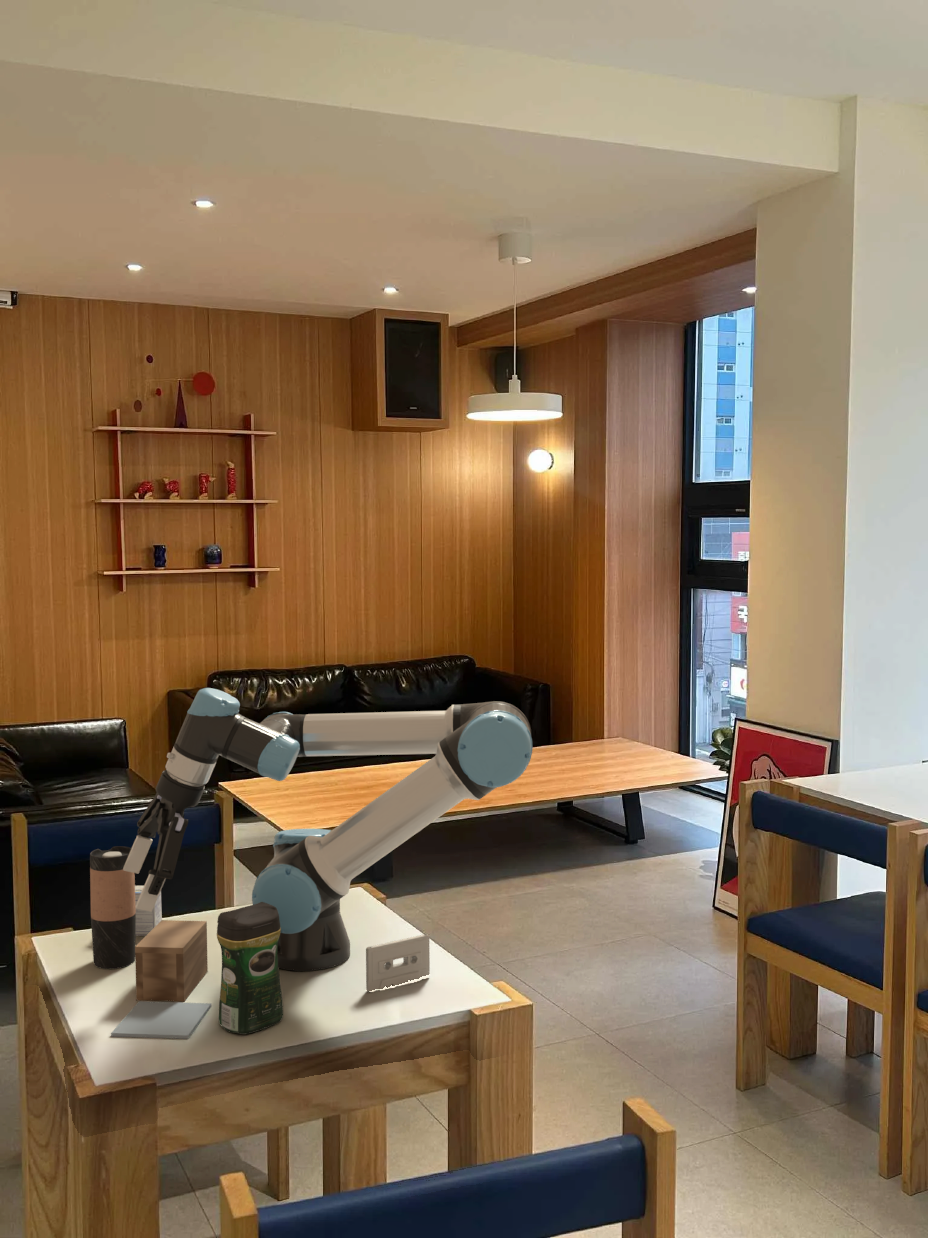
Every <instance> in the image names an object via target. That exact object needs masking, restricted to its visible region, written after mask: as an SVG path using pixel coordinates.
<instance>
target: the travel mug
mask: <svg viewBox="0 0 928 1238" xmlns="http://www.w3.org/2000/svg"><path fill="white" fill-rule="evenodd" d="M131 849H132V847H129V846H120V845H119V846H118V845H117V846H115V845H114V846H112V847H111V848H110V849H108V850H101V849H99V848H97V849H93V850H92V851H91V852H90V853H89V866H90V867H89V875H90V876H89V877H90V878H89V882H90V883H89V884H90V885H89V886H90V889H89V891H90V921H91V922H90V924H91V941H92V955H93V957H92V959H93V965H94V967H96V968H99V969H103V970H107V969H108V970H115V969H121V968H125V967H128V966H130V965H132V964H133V963H134V962H135V946H136V939H137V938H136V937H137V936H136V907H135V906H136V905H135V886H136V884H135V883H136V880H135V878H136V877H135V875H136V874H135V873H133V872H128V871H124V870H123V867H124V865H125V863H126V860H127V858H128V856H129V853H130V851H131ZM131 963H132V964H131ZM127 965H128V966H127ZM124 966H125V967H124ZM120 967H121V968H120Z"/></svg>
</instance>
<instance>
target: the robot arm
mask: <svg viewBox="0 0 928 1238" xmlns="http://www.w3.org/2000/svg"><path fill="white" fill-rule="evenodd" d="M240 706H241V703H240V701H239V700H238V698H236V697H234V696H232V695H231V694H230V693H227V692H225V691H223V690H220V689H217V688H214V687H213V688H211V687H204V688H200V689H199V690H198V691H197V692H196V695H195V697H194V699H193V701H192V703H191V705H190V707H189V709H188V710H187V711H186V712H187V713H186V716H185V718H184V720H183V723H182V726H181V727H180V730H179V732H178V735H177V736H176V740H175V743H174V745H173V748H172V750H171V752H167V754H166V758H167V761H166V764H165V770H163V771H162V772H161V774H160V777H159V779H158V782H157V784H156V787H155V792H156V793H155V795H154V797H153V798H152V800H151V801H150V803H149V804H148V806H147V807H146V809H145V810H144V812H143V813H142V815H141V816H140V817H139V819H138V821H137V823H136V826H137V827H138V829H137V835H136V838H135V839H134V841H133V844H132V846H131V848H132V849H131V851H130V853H129V856H128V858H127V860H126V863H125V865H124V867H123V870H124V871H128V872H133V873H134V874H139V873H140V871H141V869H142V867H143V864H144V862H145V860H146V858H147V855H148V853H149V850H150V848H151V845H152V843H153V839H152V838H154V839H156V837H157V835H158V836H159V838H158V842H157V843H158V844H157V848H156V854H155V858H154V859H155V860H154V865H153V869H149V870H148V873H147V874H148V876H147V878H146V880H145V883H144V885H143V886H144V887H143V890H142V892H141V894H140V897H139V899H138V901H137V904H136V906H135V907H136V909H141V910H146V911H151V912H152V910H153V908H154V905H155V903H156V901H157V898H158V896H159V894H160V891H161V892H162V888H163V887H164V884H165V882H166V880H173V878H174V874H175V870H176V866H177V863H178V860H179V859H178V858H179V855H180V851H181V847H182V843H183V839H184V835H185V832H186V830H187V827H188V824H189V819H187V818H185V809H187V808H192V807H196V806H198V805H199V803H200V800H201V798H202V796H203V794H204V792H205V789H206V788H205V787H206V786H205V785H206V784H207V783H209V781H210V778H211V776H212V774H213V771H214V769H215V767H216V764H217V761H218V759H219V756H221V757H222V758H224V759H227V760H229V761H231V762H234V763H236V764H237V765H240V766H242V767H243V768H246V769H249V770H251V771H253V772H254V773H257V774H259V776H262V777H265V778H269V779H272V780H274V781H276V782H277V781H278V782H282V781H284V780H286V778H287V777H288V776H289V774H290V772H291V770H292V769H293V767H294V765H295V763H296V761H297V758H298V757H299V758H303V757H305V758H306V757H333V756H334V757H335V756H337V757H338V756H342V757H343V756H345V757H346V756H377V755H378V756H380V755H382V756H383V755H385V756H386V755H388V756H389V755H391V756H392V755H430V754H431V755H432V754H434V755H435V756H433V757H432V758H430V759H429V760H428V761H426V762H425V763H423V764H421V766H419V767H417V768H416V769H415V770H414V771H412V772H411V773H409V774H408V775H407V776H405V777H403V779H401V780H400V781H398V782H397V783H396V784H394V785H392V787H390V788H389V789H387V790H386V791H385V792H383V793H382V794H380V795H379V796H378V797H376V798H375V799H373V800H372V801H371V802H369V803H367V804H366V805H365V806H364V807H363V808H361V809H359V810H358V811H357V812H355V813H354V814H353V815H351V816H350V817H349V818H347V819H346V820H344V821H343V822H341V823H340V824H339V825H337V826H336V827H335V828H333V829H332V830H331V829H322V828H296V829H295V828H293V829H285V830H281V831H278V832H277V833H275V834H274V840H273V844H272V847H273V853H274V854H273V858H272V859H271V860H270V861H269V862H268V864H267V866H266V867H265V868H264V869H263V870H261V871H260V872H259V875H257V876H256V878H255V881H254V885H253V888H252V893H251V902H252V905H254V904H257V903H260V902H265V903H267V904H270V905H272V906H274V907H276V908H277V910H278V913H279V920H280V926H281V932H280V936H279V940H278V947H277V956H278V969H282V970H285V971H286V970H287V971H296V972H308V971H319V970H325V969H329V968H333V967H335V966H338V965H341V964H343V963H345V962H346V961H347V960H348V959H349V957H350V956H351V942H350V939H349V935H348V932H347V928H346V927H345V926H346V925H345V923H344V920H343V918H342V915H341V899H342V898H344V897H345V896H346V895H348V893H349V891H350V886H351V881H352V880H353V879H354V878H356V877H357V876H359V875H360V874H361V873H363V872H364V871H366V870H367V869H369V868H370V867H371V866H373V865H374V864H375V863H377V862H378V861H380V860H381V859H382V858H384V857H386V856H387V855H388V854H389V853H391V852H392V851H393V850H395V849H396V848H398V847H399V846H401V845H402V844H404V843H405V842H406V841H408V840H409V839H411V838H412V837H413V836H414V835H416V834H418V833H419V832H421V831H422V830H423V829H424V828H426V827H427V826H429V825H431V824H432V823H433V822H434V821H435V820H437V819H439V818H440V817H441V816H443V815H444V814H446V813H447V812H448V811H449V810H452V809H453V808H455V806H457V805H458V804H460V803H461V802H462V801H464V800H466V799H469V800H475V801H480V800H481V799H483V798H484V797H485V796H487V795H488V794H489V793H491V792H492V791H494V790H495V789H497V788H501V787H504V786H507V785H509V784H511V783H513V782H515V781H516V780H517V779H519V778H520V777H521V776H522V775H523V773H524V772H525V771H526V770H527V767H528V766H529V764H530V761H531V759H532V756H533V749H534V748H533V738H532V729H531V724H530V722H529V720H528V718H527V716H526V715H525V714H524V713H523V712H522V711H521V710H520V709H519V708H518V707H516V706H515V705H514V704H511V703H508V702H505V701H495V700H493V701H485V702H477V703H476V702H475V703H463V704H451V706H449V707H447V709H446V710H420V711H419V710H418V711H416V710H414V711H386V712H385V711H384V712H383V711H381V712H378V711H377V712H376V711H374V712H345V713H343V712H340V713H338V712H337V713H308V714H300V713H299V714H293V713H291V712H288V711H279V712H273V713H272V714H270V715H267V717H265V718H264V719H263V720H262V721H260V722H257V721H254V720H253V719H249V718H248V717H245V716H244V715H242V714H240V713H239V712H240V708H241V707H240Z"/></svg>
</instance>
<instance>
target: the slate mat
mask: <svg viewBox="0 0 928 1238" xmlns="http://www.w3.org/2000/svg"><path fill="white" fill-rule="evenodd" d="M211 1008H212V1003H211V1002H209V1003H208V1002H176V1001H140V1000H138V1002H137V1003H136V1004H135V1005H134V1006H133V1007H132V1008H131V1010H130V1011H129V1012H128V1013H127V1015H126V1016H125V1017H123V1019H122V1020H121V1021H120V1022H119V1023H118V1024H117V1025H116V1026H115V1028H114V1029H113V1030H112V1031H111V1033H110V1036H111V1037H121V1038H122V1037H123V1038H124V1037H125V1038H130V1037H131V1038H150V1039H151V1038H152V1039H153V1038H154V1039H155V1038H157V1039H158V1038H159V1039H186V1040H187V1039H188V1040H189V1038H190V1037H191V1036H192V1034H193V1033H195V1030H196V1029H197V1027H198V1026H199V1024H200V1023H201V1022H202V1020H203V1019H204V1018H205V1016H206V1015H207V1014H208V1012H209V1011H210V1009H211Z"/></svg>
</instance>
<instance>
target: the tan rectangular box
mask: <svg viewBox="0 0 928 1238" xmlns="http://www.w3.org/2000/svg"><path fill="white" fill-rule="evenodd" d="M207 924H208V923H207V920H176V919H174V920H172V919H171V920H168V919H167V920H163V919H162V920H161V921H160V922H159V923H158V924H157V925H156V926H155V927H154V928H153V929H152V930H151V931H150V932H149V933H148V934H147V935H146V936H143V938H142V939H141V940H140V941H139V942H138V943H137V944H135V961H134V962H135V997H136V999H135V1000H136V1001H148V1002H183V1003H185V1001H186V1000H187V999H188V998H189V996H190V995H191V993H193V991H194V990H195V989H196V987H198V984H200V982H201V981H202V980H203V978H204V977H205V976H206V975H207V973H208V972H209V971H208V969H209V968H208V927H207V926H208V925H207Z"/></svg>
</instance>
